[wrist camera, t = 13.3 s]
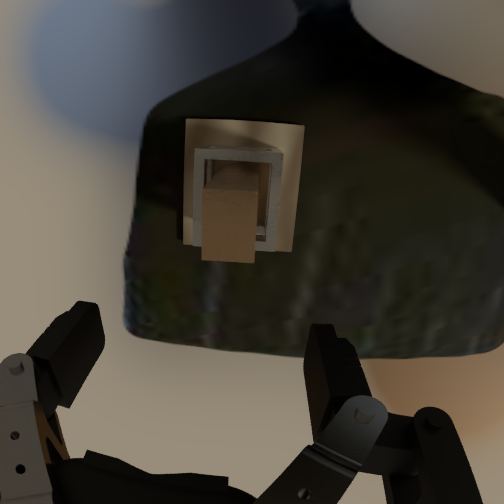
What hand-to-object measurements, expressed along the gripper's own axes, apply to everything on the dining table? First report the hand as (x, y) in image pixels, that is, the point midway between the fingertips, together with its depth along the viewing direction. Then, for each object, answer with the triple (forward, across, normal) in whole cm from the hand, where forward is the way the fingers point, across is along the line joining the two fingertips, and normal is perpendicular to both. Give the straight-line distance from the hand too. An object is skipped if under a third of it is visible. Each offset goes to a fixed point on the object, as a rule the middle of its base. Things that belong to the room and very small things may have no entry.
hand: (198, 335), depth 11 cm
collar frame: (+30, 0, 0) cm, 30 cm away
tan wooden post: (+29, 0, 0) cm, 29 cm away
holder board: (+30, 0, 0) cm, 30 cm away
